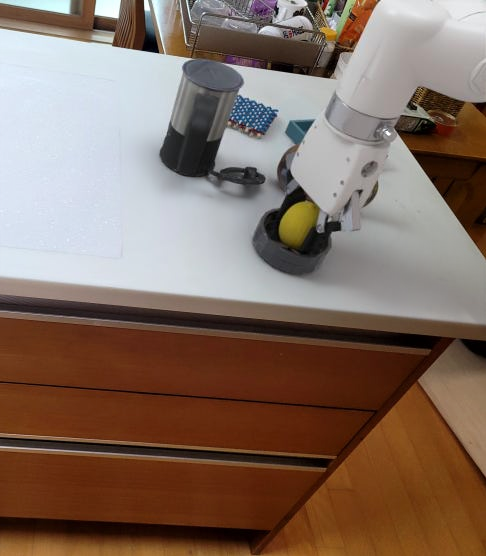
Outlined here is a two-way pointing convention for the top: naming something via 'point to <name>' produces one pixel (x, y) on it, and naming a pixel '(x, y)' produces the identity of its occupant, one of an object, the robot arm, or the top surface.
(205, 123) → the milk frother
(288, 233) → the lemon
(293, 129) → the tray
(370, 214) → the top surface
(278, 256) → the bowl
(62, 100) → the top surface
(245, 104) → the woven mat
